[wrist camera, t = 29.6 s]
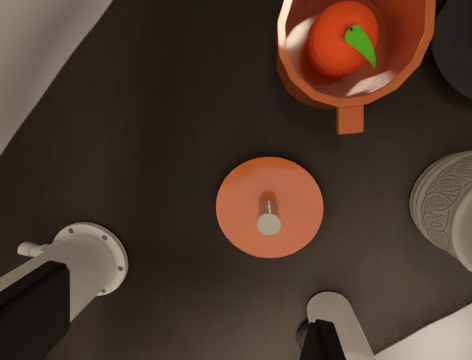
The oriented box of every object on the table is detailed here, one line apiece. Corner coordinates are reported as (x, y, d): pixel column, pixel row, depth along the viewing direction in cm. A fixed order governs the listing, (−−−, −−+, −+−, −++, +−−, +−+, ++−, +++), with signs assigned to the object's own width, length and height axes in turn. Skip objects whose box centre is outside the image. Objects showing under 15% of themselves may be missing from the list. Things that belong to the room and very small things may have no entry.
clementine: (382, 53, 29) (418, 32, 22) (336, 100, 31) (356, 94, 24) (333, 3, 29) (355, -34, 22) (289, 53, 30) (296, 33, 23)
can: (301, 320, 39) (316, 405, 27) (312, 285, 37) (332, 359, 26) (343, 330, 39) (377, 420, 27) (355, 295, 37) (396, 374, 25)
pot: (280, 136, 33) (283, 140, 26) (269, -31, 29) (270, -81, 22) (390, 125, 31) (428, 126, 24) (396, -55, 27) (443, -118, 20)
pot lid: (223, 255, 38) (215, 280, 32) (211, 160, 35) (200, 168, 29) (323, 252, 36) (334, 278, 30) (320, 150, 33) (332, 157, 27)
